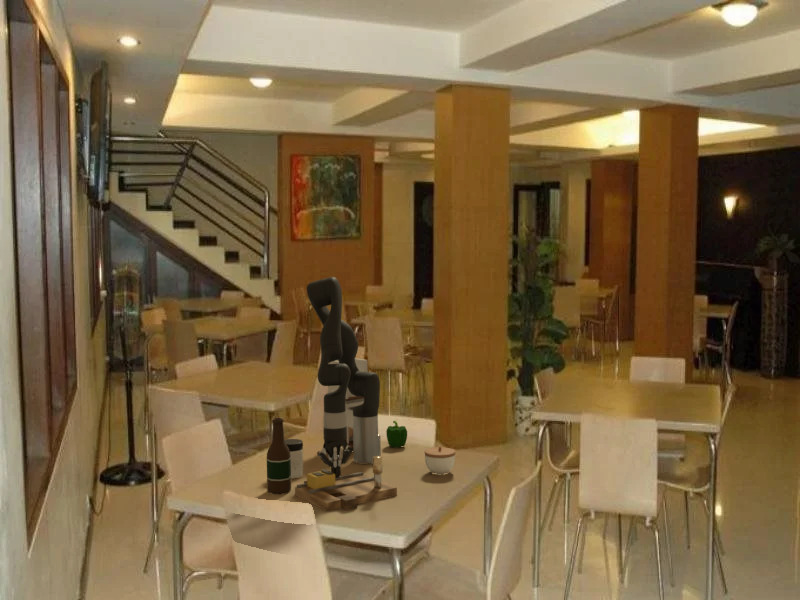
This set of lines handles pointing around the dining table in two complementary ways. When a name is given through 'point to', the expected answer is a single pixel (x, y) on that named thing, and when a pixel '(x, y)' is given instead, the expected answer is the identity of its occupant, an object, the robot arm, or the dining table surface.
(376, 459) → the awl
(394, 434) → the bell pepper
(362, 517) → the dining table surface
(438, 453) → the lidded jar
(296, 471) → the jar
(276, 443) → the beer bottle
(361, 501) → the subfloor panel
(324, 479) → the stud finder
